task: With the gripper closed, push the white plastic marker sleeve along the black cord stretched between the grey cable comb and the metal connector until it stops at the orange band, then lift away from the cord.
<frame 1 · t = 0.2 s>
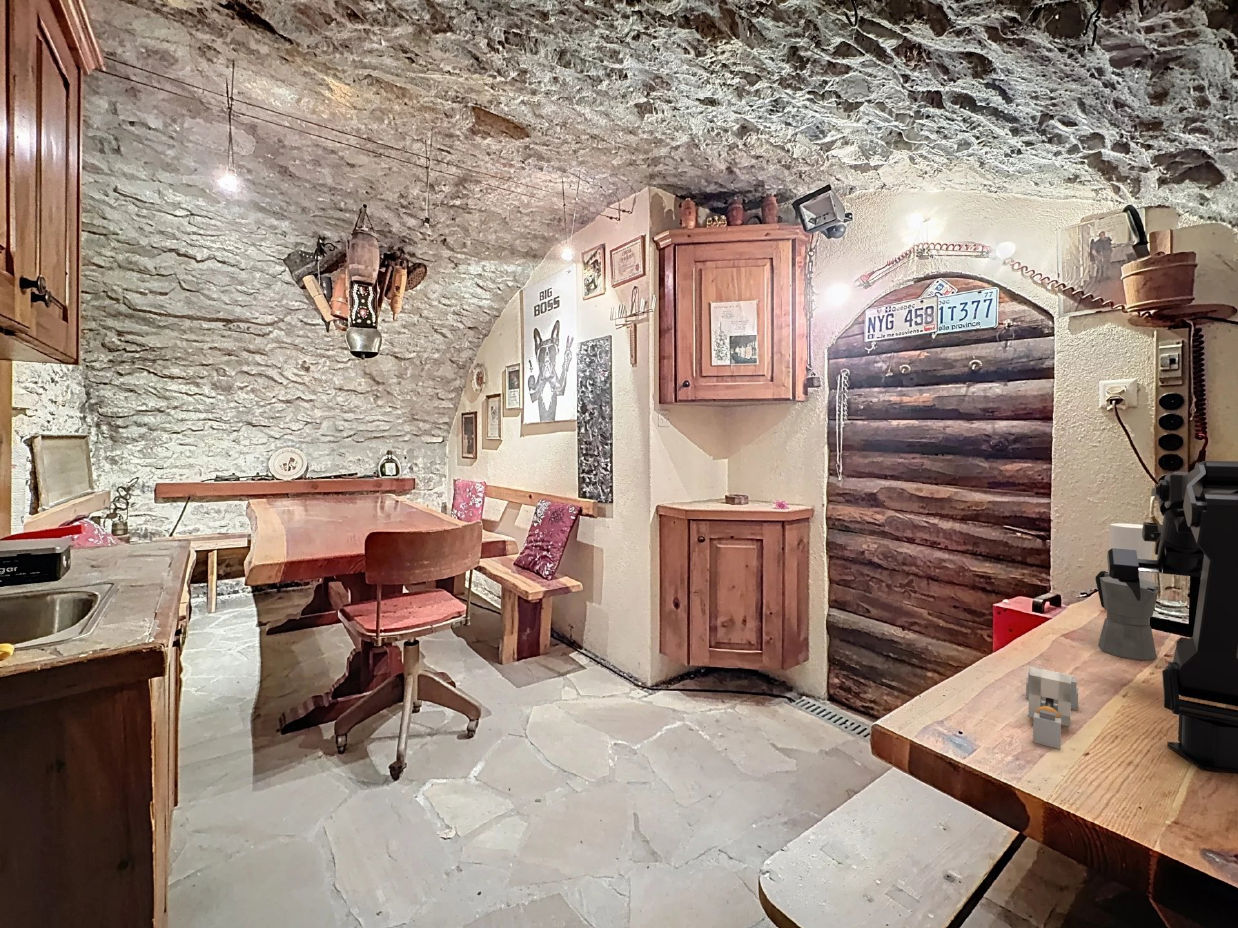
hand: (1172, 602, 104), 15 cm above the table, tool tilted 30°, fingers open, 9 cm apart
sleeve: (1049, 695, 90), point 4 cm above the table, slide at 0.0 cm
coffeepot: (1122, 651, 120), on the table
cylindrical container: (1127, 635, 130), on the table
cord rig: (1049, 720, 91), on the table
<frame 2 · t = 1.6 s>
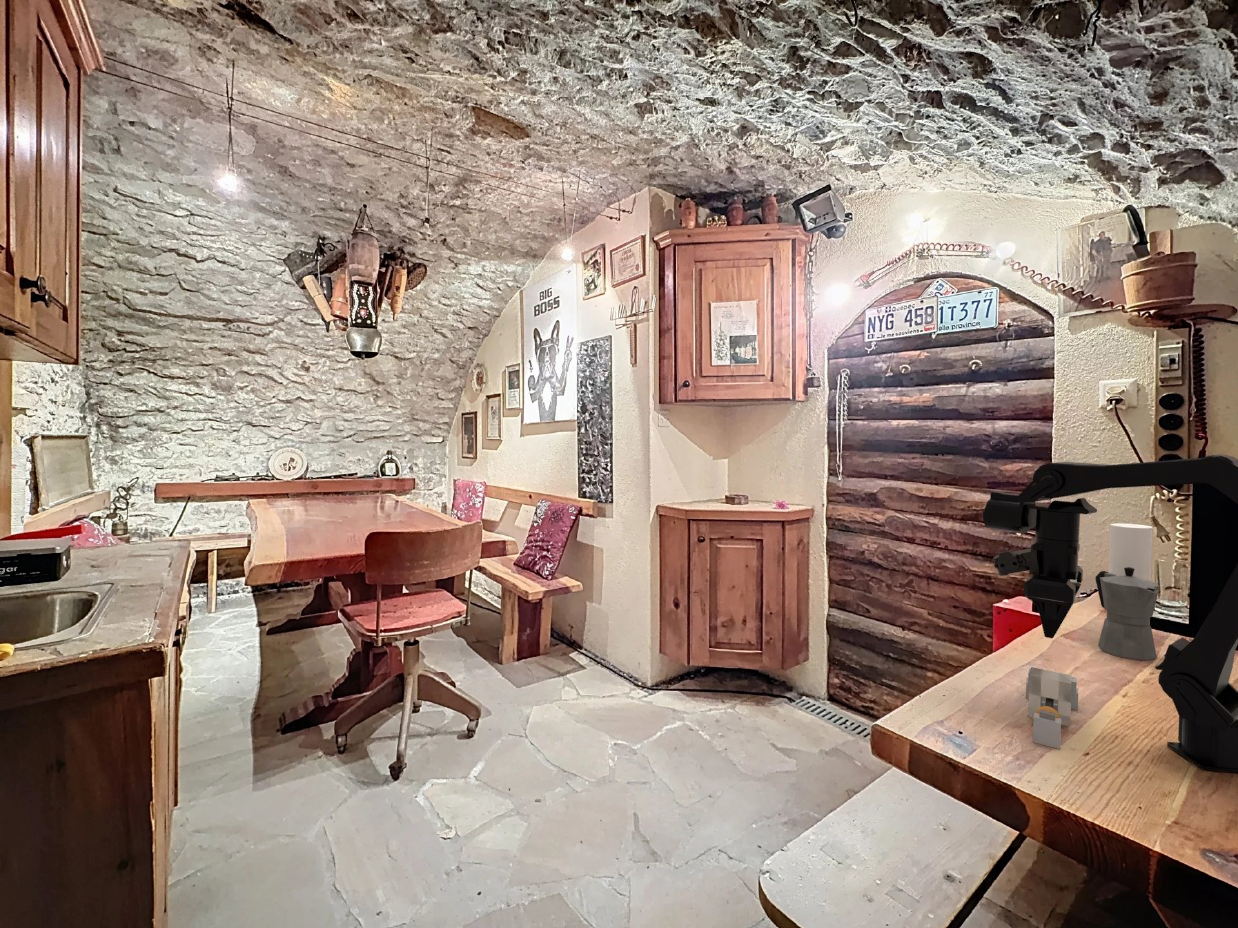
hand: (1052, 630, 95), 13 cm above the table, tool pointing down, fingers open, 9 cm apart
nothing on the table moved.
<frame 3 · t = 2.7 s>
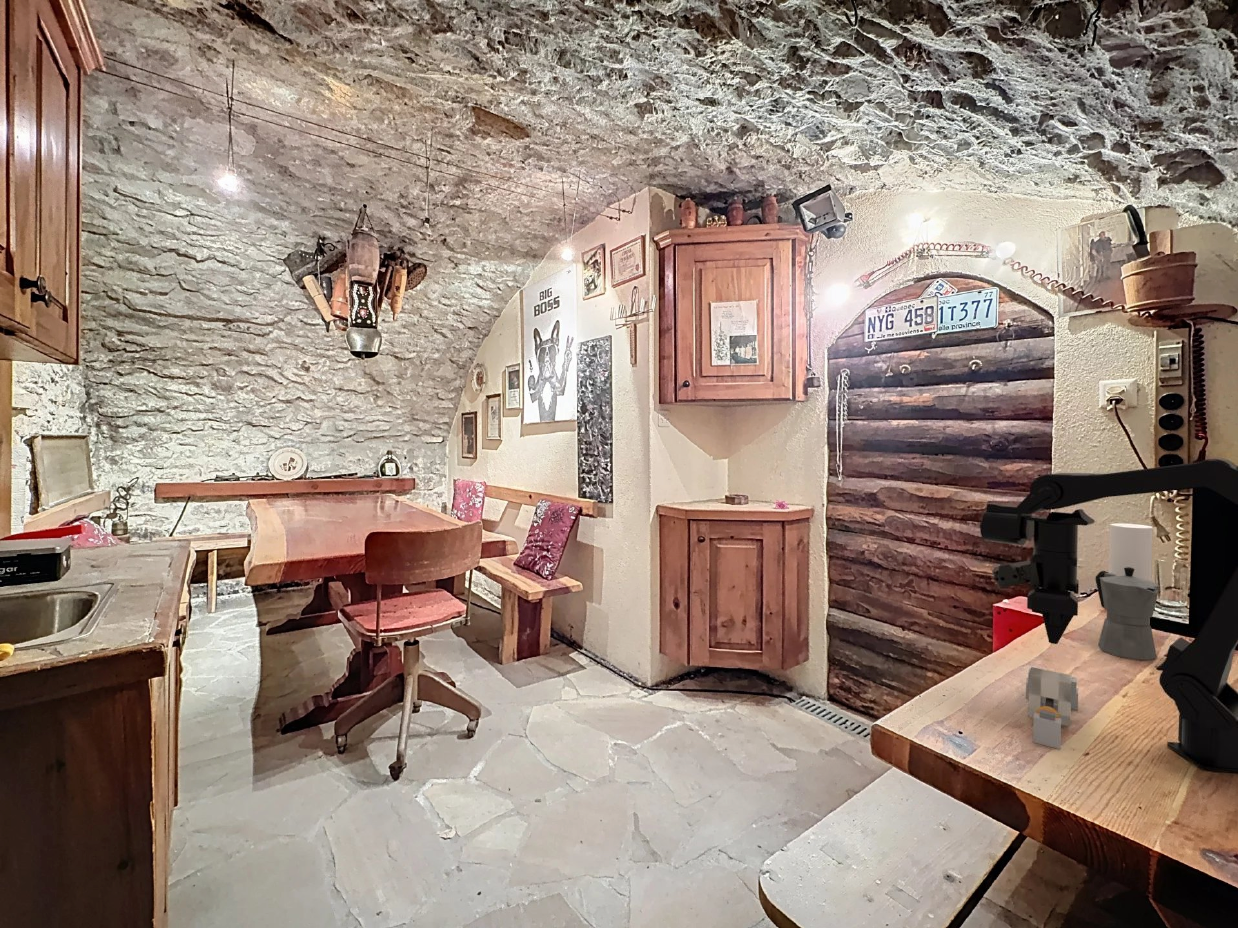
hand: (1053, 642, 94), 11 cm above the table, tool pointing down, fingers closed
nothing on the table moved.
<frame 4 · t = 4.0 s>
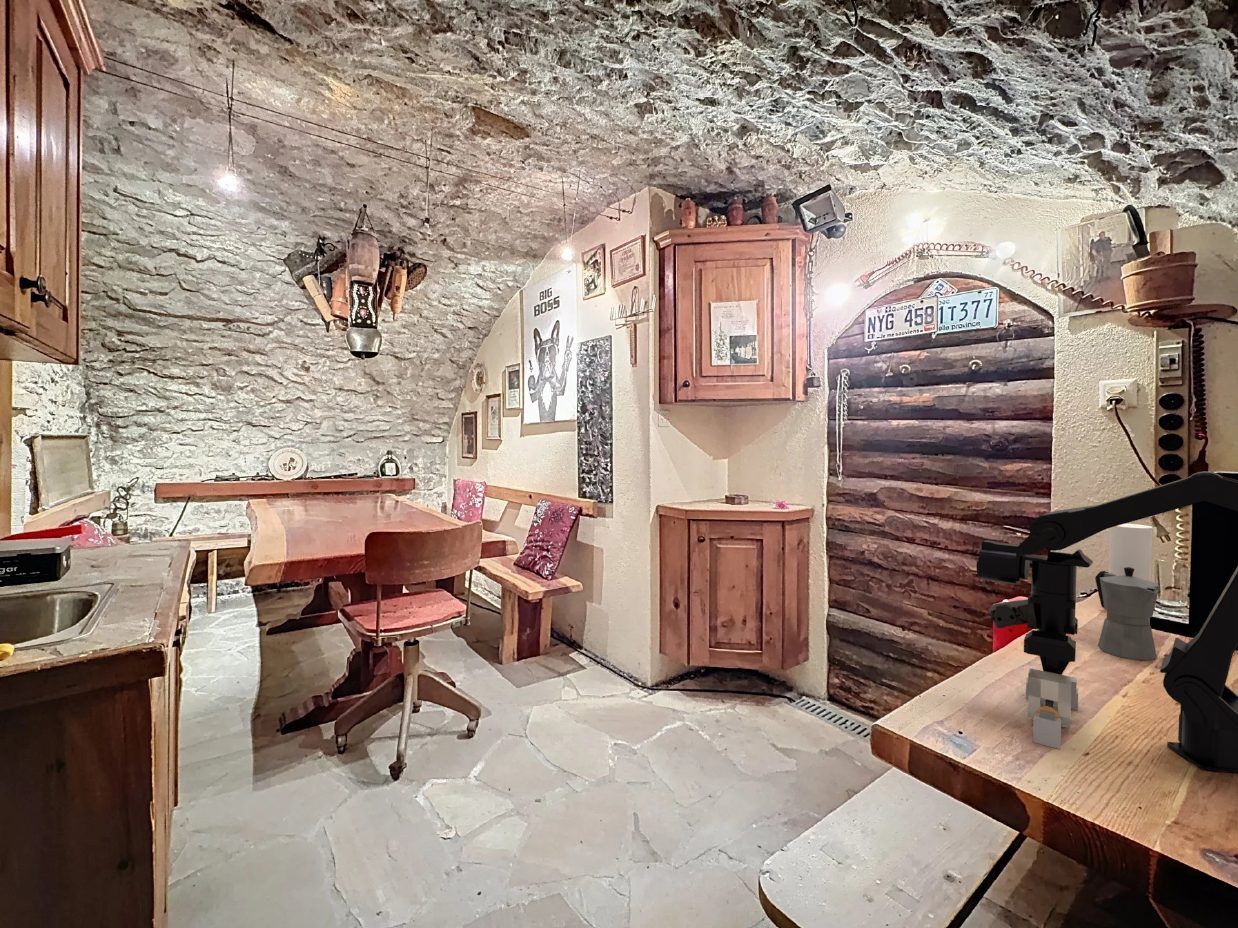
hand: (1050, 684, 92), 5 cm above the table, tool pointing down, fingers closed
sleeve: (1049, 697, 90), point 4 cm above the table, slide at 0.8 cm, touching gripper
everything else where it was.
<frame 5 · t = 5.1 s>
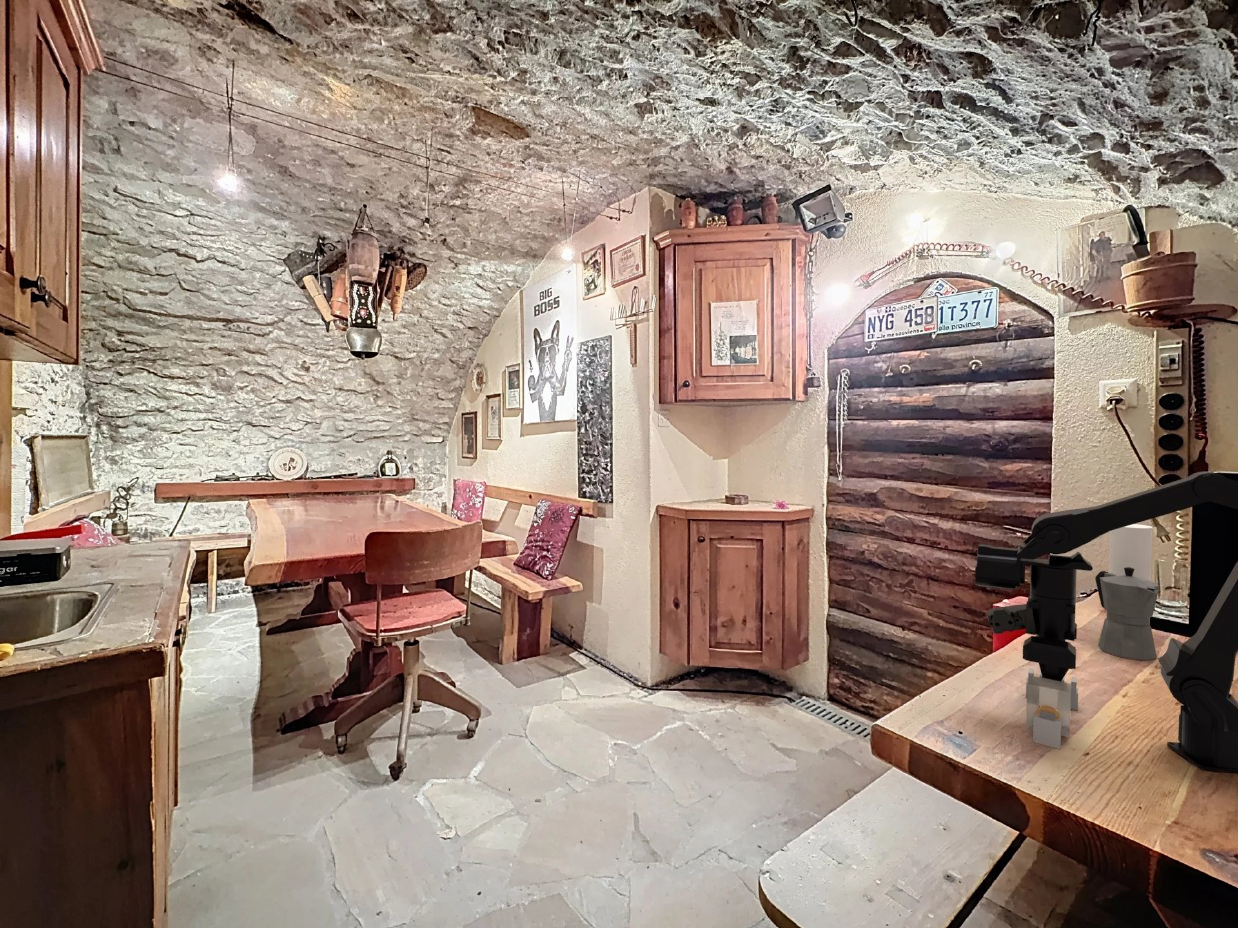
hand: (1049, 691, 90), 5 cm above the table, tool pointing down, fingers closed
sleeve: (1048, 705, 87), point 4 cm above the table, slide at 4.1 cm, touching gripper
everything else where it was.
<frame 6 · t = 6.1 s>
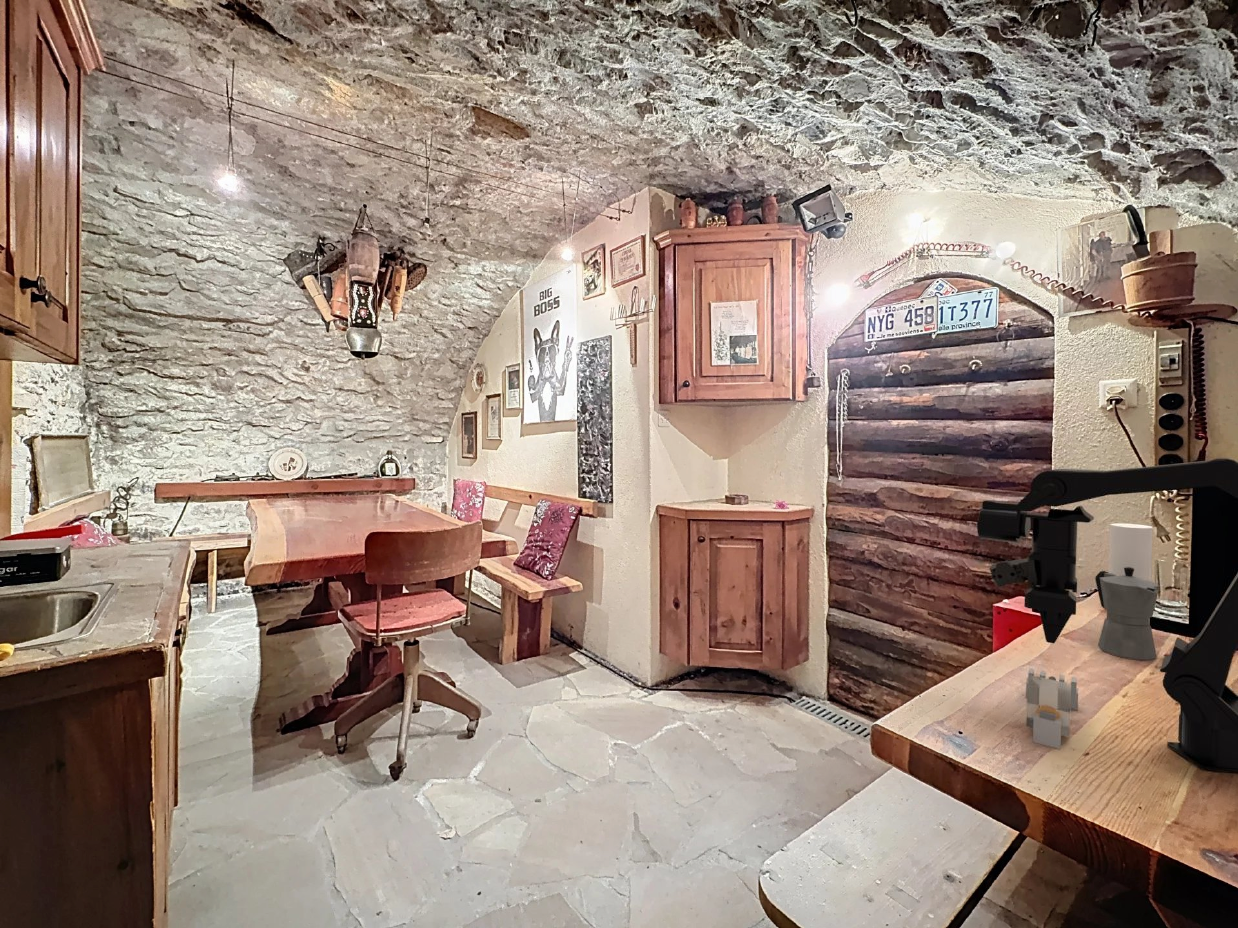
hand: (1050, 642, 92), 12 cm above the table, tool pointing down, fingers closed
sleeve: (1048, 705, 87), point 4 cm above the table, slide at 4.1 cm
everything else where it was.
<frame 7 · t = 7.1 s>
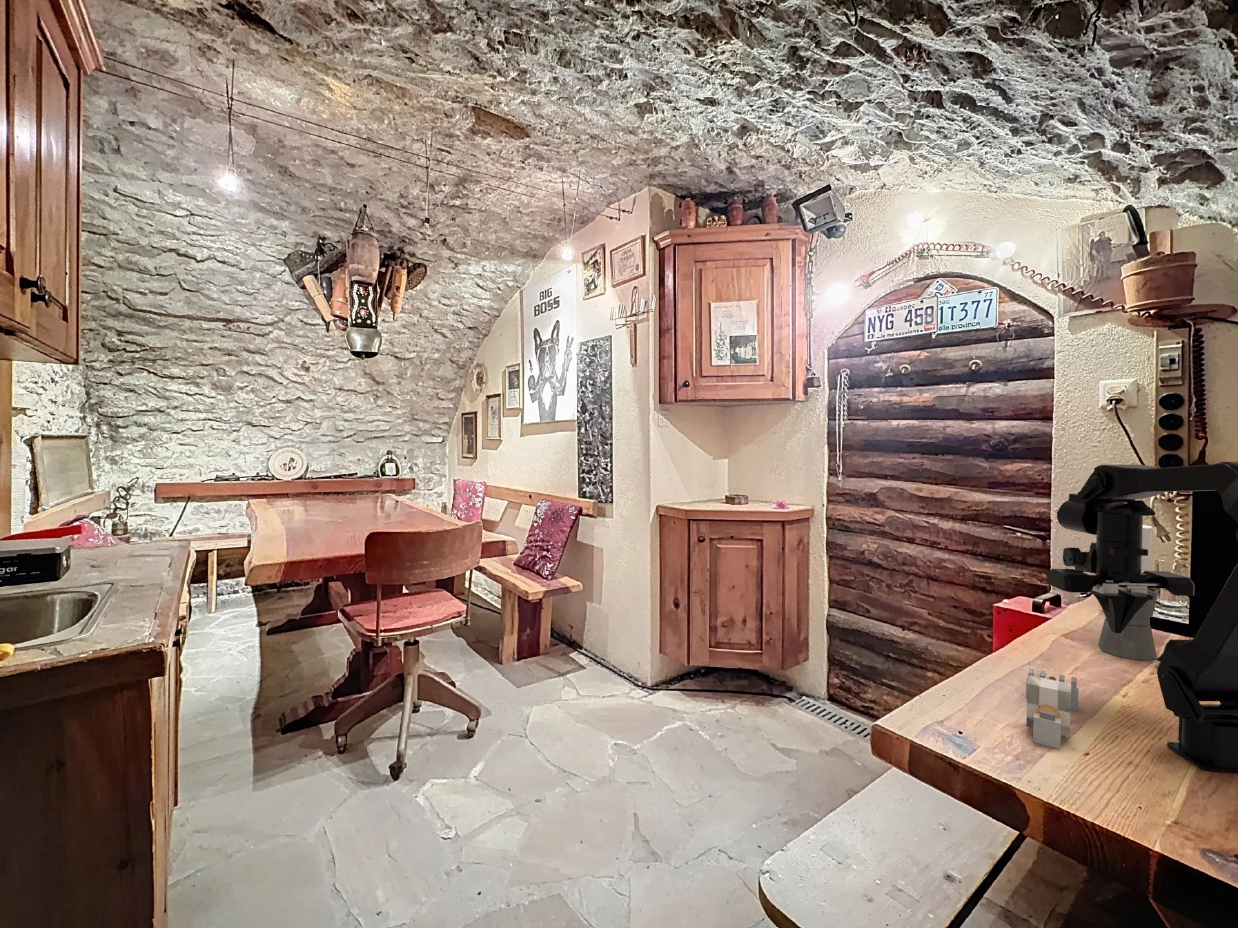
hand: (1116, 632, 95), 12 cm above the table, tool pointing down, fingers closed
nothing on the table moved.
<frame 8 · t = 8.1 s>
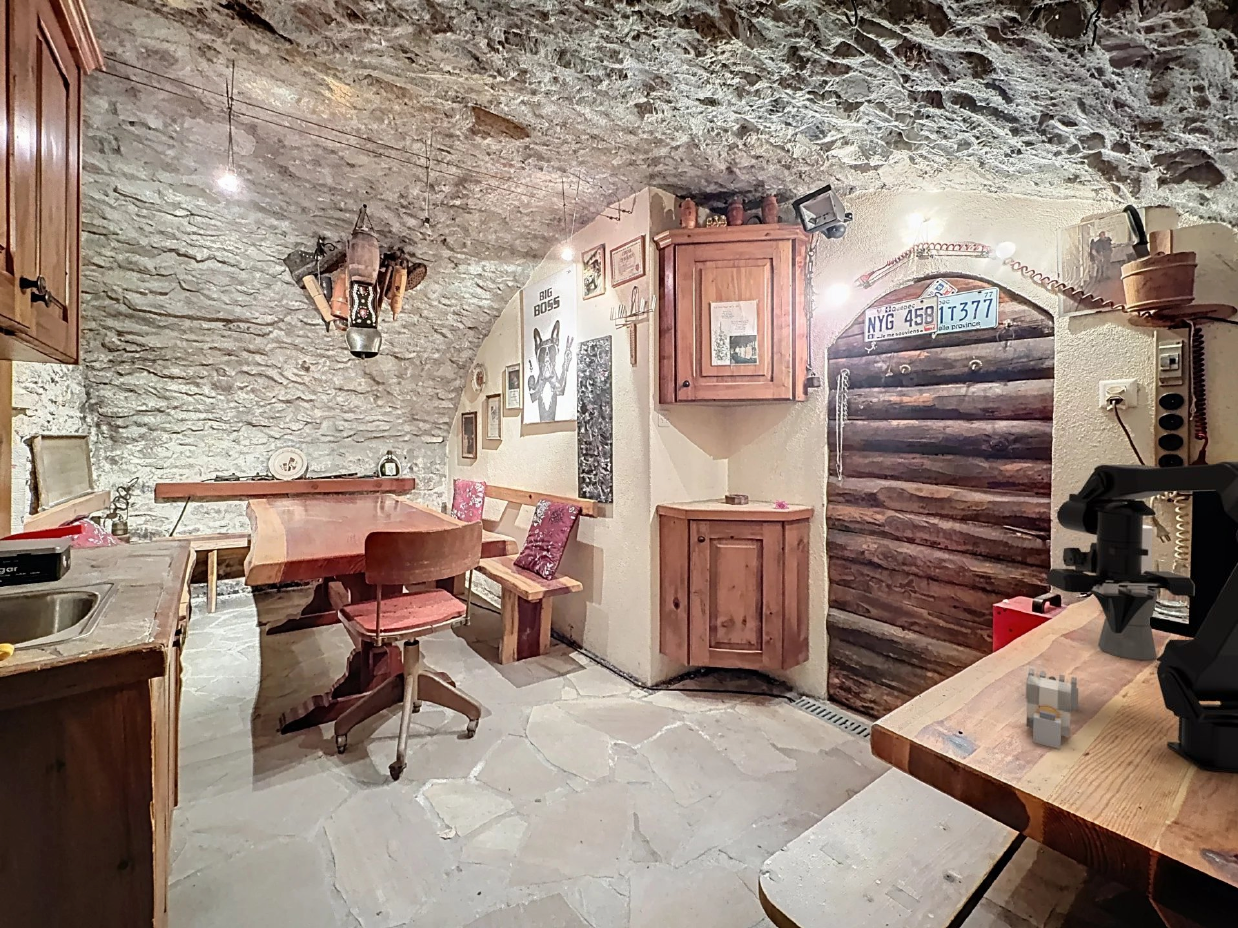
hand: (1116, 632, 95), 12 cm above the table, tool pointing down, fingers closed
nothing on the table moved.
at the end: sleeve slide at 4.1 cm; the gripper is holding nothing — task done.
